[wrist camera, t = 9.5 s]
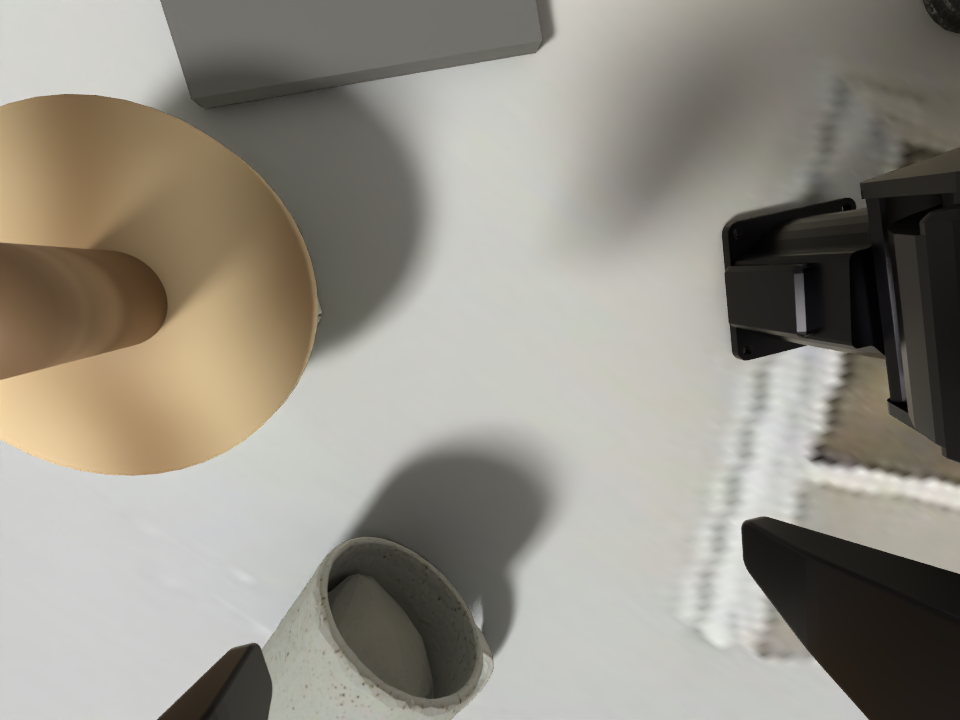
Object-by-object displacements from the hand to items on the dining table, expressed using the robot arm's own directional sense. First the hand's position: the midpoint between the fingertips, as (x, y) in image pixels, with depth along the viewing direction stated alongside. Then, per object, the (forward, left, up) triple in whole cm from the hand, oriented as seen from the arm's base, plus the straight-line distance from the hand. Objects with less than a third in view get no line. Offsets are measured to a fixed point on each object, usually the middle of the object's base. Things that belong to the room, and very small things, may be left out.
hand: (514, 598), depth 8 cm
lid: (+9, -7, -9) cm, 14 cm away
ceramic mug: (+5, +10, -13) cm, 17 cm away
